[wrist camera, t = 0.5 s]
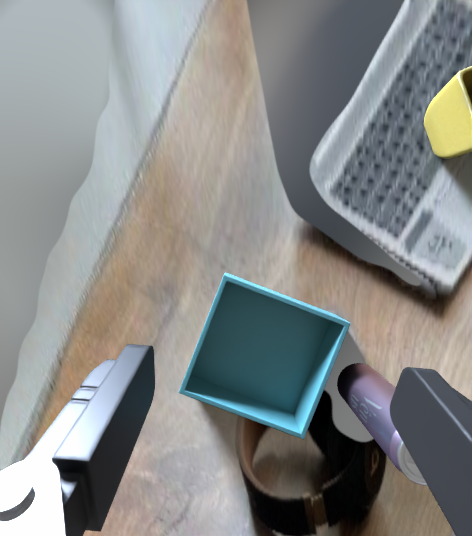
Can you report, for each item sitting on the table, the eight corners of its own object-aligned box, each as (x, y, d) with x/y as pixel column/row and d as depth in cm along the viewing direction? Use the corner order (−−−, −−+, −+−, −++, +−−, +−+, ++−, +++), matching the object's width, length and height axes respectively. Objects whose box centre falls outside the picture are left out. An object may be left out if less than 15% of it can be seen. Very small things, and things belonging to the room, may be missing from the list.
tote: (336, 314, 39) (350, 323, 34) (294, 416, 40) (303, 439, 35) (225, 272, 39) (223, 274, 34) (185, 375, 40) (178, 393, 35)
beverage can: (369, 405, 40) (450, 495, 25) (330, 395, 40) (388, 478, 25) (381, 367, 40) (470, 434, 25) (342, 356, 40) (408, 417, 25)
